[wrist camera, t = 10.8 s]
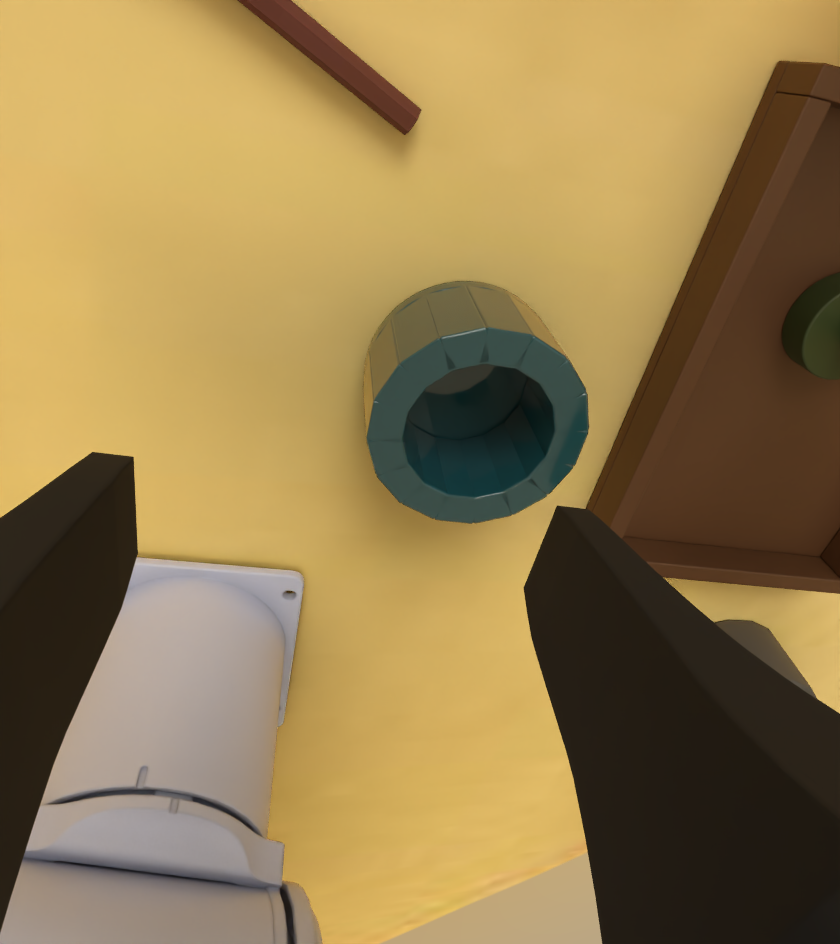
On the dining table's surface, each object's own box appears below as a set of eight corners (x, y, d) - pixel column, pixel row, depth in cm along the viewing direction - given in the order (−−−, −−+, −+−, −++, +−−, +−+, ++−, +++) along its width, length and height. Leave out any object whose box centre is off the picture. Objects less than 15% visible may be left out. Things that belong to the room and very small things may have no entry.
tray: (817, 562, 28) (846, 595, 26) (573, 537, 26) (589, 571, 24) (1107, 151, 19) (1179, 162, 18) (777, 60, 17) (824, 62, 15)
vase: (520, 463, 23) (549, 533, 20) (351, 442, 22) (352, 512, 19) (576, 299, 20) (622, 349, 17) (381, 263, 19) (390, 311, 16)
